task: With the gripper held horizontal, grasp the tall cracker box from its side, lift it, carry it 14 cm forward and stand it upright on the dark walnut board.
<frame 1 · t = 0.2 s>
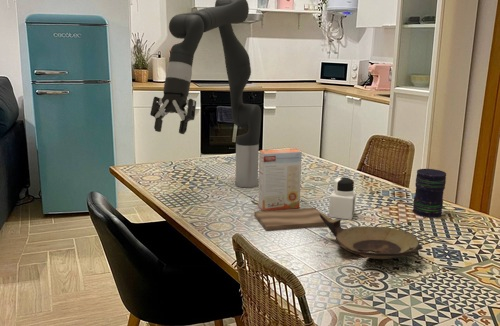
hand: (169, 132, 149), 31 cm above the table, tool tilted 20°, fingers open, 8 cm apart
oil lamp: (369, 250, 145), on the table
cracker box: (278, 207, 179), on the table
container: (341, 215, 173), on the table
storage jar: (426, 213, 177), on the table
walnut board: (291, 220, 166), on the table
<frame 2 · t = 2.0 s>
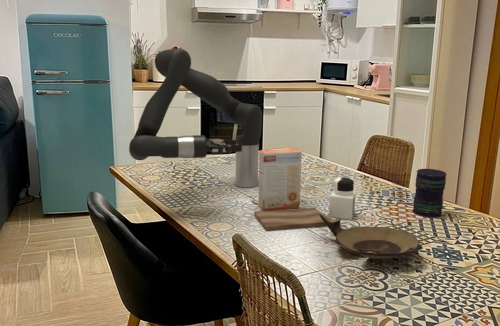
hand: (238, 145, 170), 23 cm above the table, tool horizontal, fingers open, 8 cm apart
nothing on the table moved.
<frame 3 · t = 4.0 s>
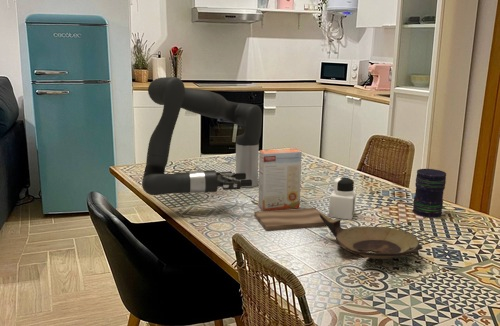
hand: (248, 179, 174), 11 cm above the table, tool horizontal, fingers open, 8 cm apart
nothing on the table moved.
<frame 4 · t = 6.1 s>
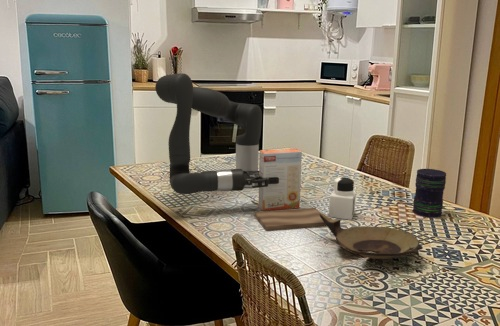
hand: (275, 177, 176), 11 cm above the table, tool horizontal, fingers closed on cracker box, 6 cm apart
cracker box: (278, 207, 179), on the table, touching gripper
everything else where it was.
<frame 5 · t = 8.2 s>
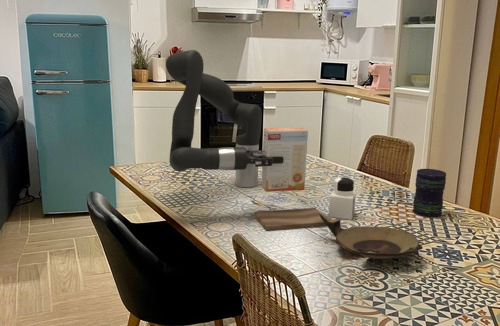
hand: (280, 157, 169), 20 cm above the table, tool horizontal, fingers closed on cracker box, 6 cm apart
cracker box: (282, 189, 172), point 8 cm above the table, touching gripper
everything else where it was.
when the fingers open (14 cm above the table, at t = 10.6 s): cracker box stays where it is, resting on walnut board.
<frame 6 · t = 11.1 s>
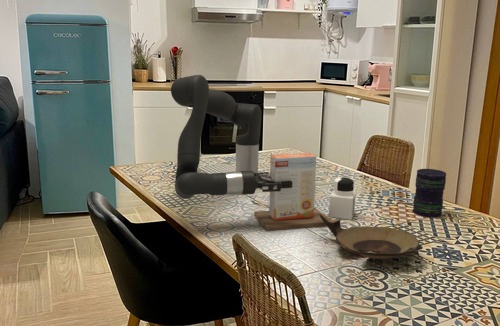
hand: (287, 180, 162), 14 cm above the table, tool horizontal, fingers open, 8 cm apart
cracker box: (291, 217, 166), point 1 cm above the table, touching walnut board
everything else where it was.
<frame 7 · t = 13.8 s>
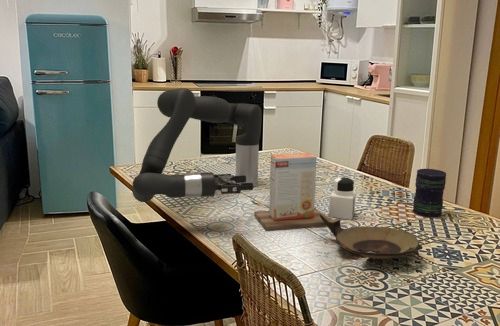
hand: (249, 182, 159), 14 cm above the table, tool horizontal, fingers open, 8 cm apart
nothing on the table moved.
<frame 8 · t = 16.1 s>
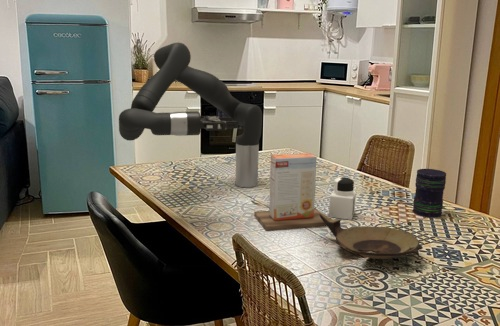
hand: (234, 122, 161), 32 cm above the table, tool horizontal, fingers open, 8 cm apart
nothing on the table moved.
at the end: cracker box inside the target area on the walnut board (0.3 cm from its centre), point 1.3 cm above the walnut board's base; cracker box tilted 0°; the gripper is holding nothing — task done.
